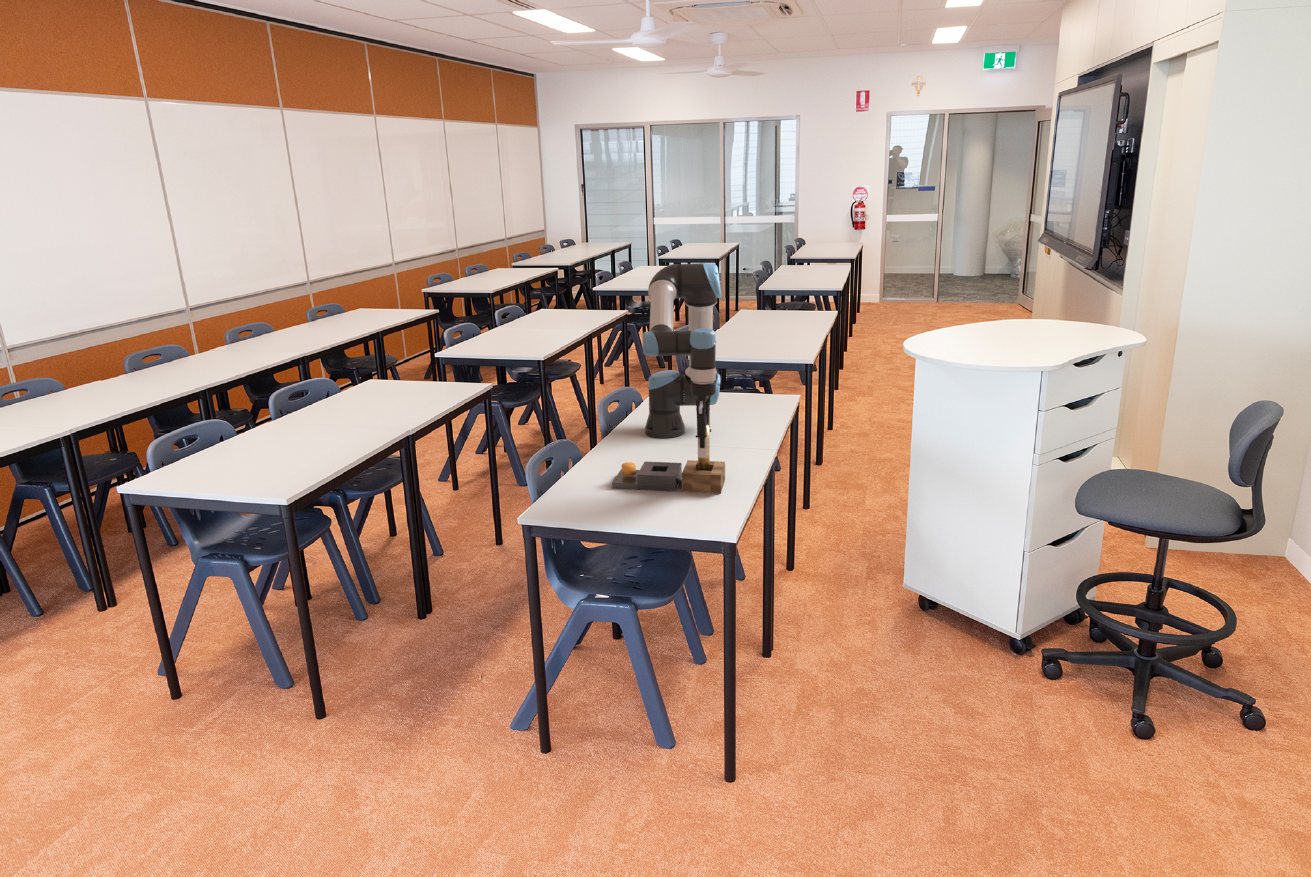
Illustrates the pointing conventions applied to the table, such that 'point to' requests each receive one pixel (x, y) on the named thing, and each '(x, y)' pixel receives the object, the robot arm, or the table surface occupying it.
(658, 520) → the table surface
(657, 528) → the table surface
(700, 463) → the gold metal bar
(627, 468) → the release button
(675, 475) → the socket
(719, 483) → the wooden peg hole block
